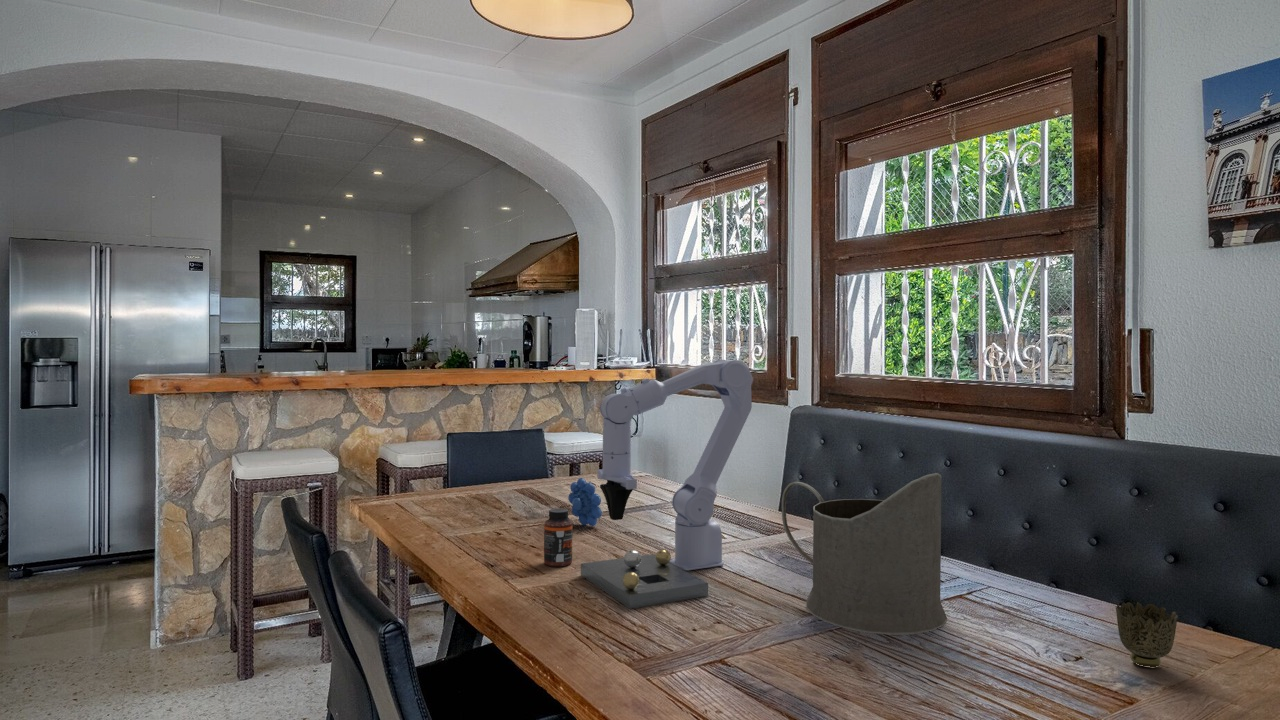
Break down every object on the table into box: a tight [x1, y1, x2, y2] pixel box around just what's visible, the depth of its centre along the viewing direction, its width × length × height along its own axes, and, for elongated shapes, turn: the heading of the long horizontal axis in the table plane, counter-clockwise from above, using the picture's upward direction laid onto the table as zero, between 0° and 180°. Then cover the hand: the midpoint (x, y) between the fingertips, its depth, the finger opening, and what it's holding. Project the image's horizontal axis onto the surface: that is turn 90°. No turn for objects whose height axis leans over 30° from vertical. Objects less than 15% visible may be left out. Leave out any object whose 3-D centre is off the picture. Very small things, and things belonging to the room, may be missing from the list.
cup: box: [1114, 601, 1179, 667], centre depth 109 cm, size 8×7×8 cm
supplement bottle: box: [543, 508, 574, 568], centre depth 160 cm, size 6×6×11 cm
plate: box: [580, 553, 709, 610], centre depth 145 cm, size 16×22×2 cm
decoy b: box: [623, 572, 639, 589], centre depth 135 cm, size 3×3×3 cm
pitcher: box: [781, 472, 948, 636], centre depth 135 cm, size 23×32×25 cm
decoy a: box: [655, 549, 672, 565], centre depth 151 cm, size 3×3×3 cm
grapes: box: [567, 477, 603, 527], centre depth 195 cm, size 12×7×12 cm, turn 48°
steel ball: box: [623, 549, 642, 568], centre depth 149 cm, size 3×3×3 cm
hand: (616, 519), depth 156 cm, fingers closed
